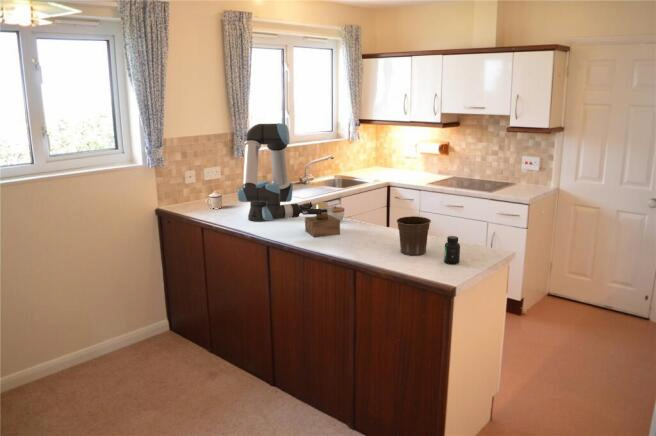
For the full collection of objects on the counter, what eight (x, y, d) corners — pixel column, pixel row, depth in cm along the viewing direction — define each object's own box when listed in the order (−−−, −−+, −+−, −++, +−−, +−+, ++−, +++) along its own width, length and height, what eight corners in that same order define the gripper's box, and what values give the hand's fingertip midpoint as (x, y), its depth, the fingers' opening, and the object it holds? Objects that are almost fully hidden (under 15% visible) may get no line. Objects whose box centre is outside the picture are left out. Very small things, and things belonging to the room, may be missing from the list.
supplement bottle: (443, 263, 244) (444, 238, 241) (445, 259, 250) (446, 234, 248) (458, 265, 242) (459, 239, 239) (460, 261, 248) (461, 235, 245)
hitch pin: (315, 230, 302) (314, 202, 298) (325, 229, 304) (325, 201, 300) (319, 233, 296) (318, 204, 292) (329, 231, 298) (329, 203, 294)
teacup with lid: (219, 206, 373) (218, 189, 370) (225, 208, 366) (224, 191, 364) (203, 208, 366) (201, 191, 363) (209, 210, 359) (208, 193, 356)
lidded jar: (333, 218, 333) (333, 203, 331) (348, 220, 327) (347, 205, 325) (323, 222, 324) (323, 206, 322) (338, 224, 318) (337, 208, 316)
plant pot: (407, 259, 252) (408, 225, 248) (390, 250, 266) (390, 218, 263) (436, 254, 258) (437, 222, 254) (418, 245, 273) (418, 215, 269)
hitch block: (305, 231, 304) (304, 217, 302) (329, 228, 310) (329, 214, 308) (314, 237, 291) (314, 223, 289) (340, 234, 296) (339, 220, 294)
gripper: (284, 213, 302) (319, 209, 310) (298, 222, 280) (336, 218, 287) (283, 199, 301) (319, 196, 308) (298, 208, 278) (336, 204, 286)
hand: (327, 207), depth 298 cm, fingers open, 13 cm apart
